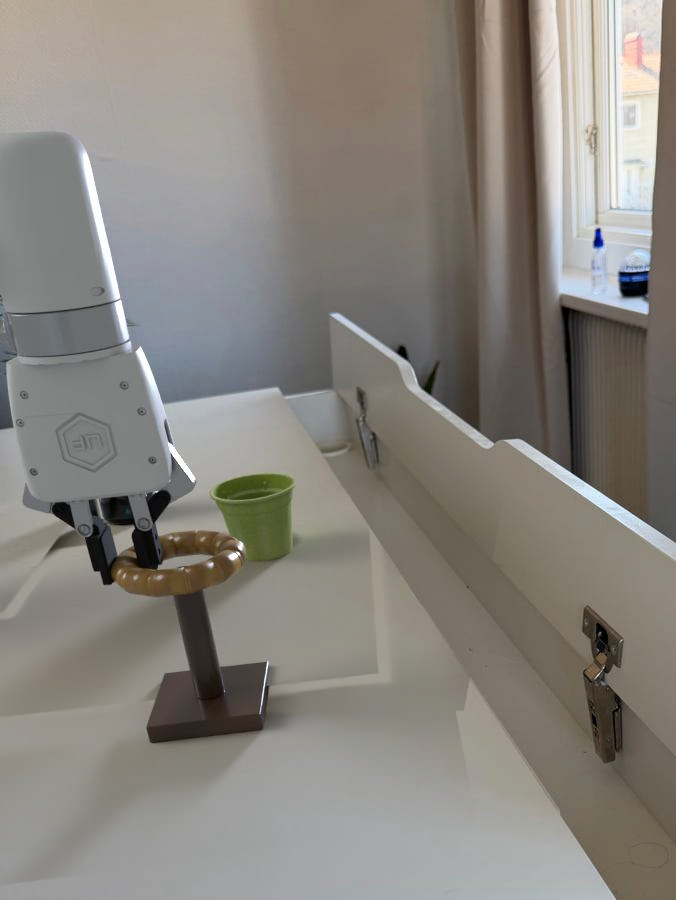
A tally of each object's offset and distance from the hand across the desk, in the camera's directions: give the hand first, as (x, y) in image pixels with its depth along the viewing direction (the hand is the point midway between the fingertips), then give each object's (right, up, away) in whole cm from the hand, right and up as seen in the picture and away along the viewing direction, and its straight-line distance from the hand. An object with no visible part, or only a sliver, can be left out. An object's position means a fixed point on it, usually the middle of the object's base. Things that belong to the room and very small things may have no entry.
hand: (131, 574), depth 76 cm
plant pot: (+3, +4, +36) cm, 36 cm away
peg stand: (+5, -11, +6) cm, 13 cm away
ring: (+4, +1, 0) cm, 4 cm away
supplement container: (-19, +11, +52) cm, 56 cm away
